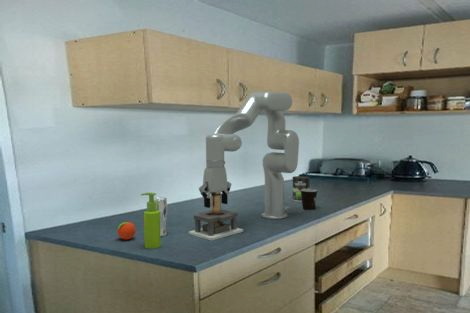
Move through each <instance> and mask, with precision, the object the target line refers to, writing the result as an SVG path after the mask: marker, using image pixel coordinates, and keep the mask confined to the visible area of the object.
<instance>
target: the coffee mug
mask: <svg viewBox="0 0 470 313" xmlns="http://www.w3.org/2000/svg"><path fill="white" fill-rule="evenodd" d="M317 194H318V190H317V189H311V188H310V189H303V190H301V196H302V202H301V204H302V210H305V211H314V210H316V204H317V203H316V202H317V196H318V195H317Z"/></svg>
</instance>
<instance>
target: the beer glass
mask: <svg viewBox="0 0 470 313" xmlns="http://www.w3.org/2000/svg"><path fill="white" fill-rule="evenodd" d="M154 201H155V202H156V210H158V211H160V237H165V236H167V235H168V233H167V227H166V226H167V225H166V223H167V217H168V201H167V197H154Z"/></svg>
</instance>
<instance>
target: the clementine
mask: <svg viewBox="0 0 470 313" xmlns="http://www.w3.org/2000/svg"><path fill="white" fill-rule="evenodd" d="M136 229H137V228H136V226H135V225H134V224H133V222H130V221H125V222H124V221H123V222H122V223H120V224H118V227H117V235H118V237H119V238H121V239H122V240H130V239H132V238H133V237H134V236H135V234H136V231H137V230H136Z"/></svg>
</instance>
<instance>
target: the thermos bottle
mask: <svg viewBox="0 0 470 313" xmlns="http://www.w3.org/2000/svg"><path fill="white" fill-rule="evenodd" d="M221 194H222V192H221V191H220V190H218V192H215V193H211V195H210V210H211V216H220V215H221V209H222V203H221ZM218 226H221V221H216V222H214V227H218Z"/></svg>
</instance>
